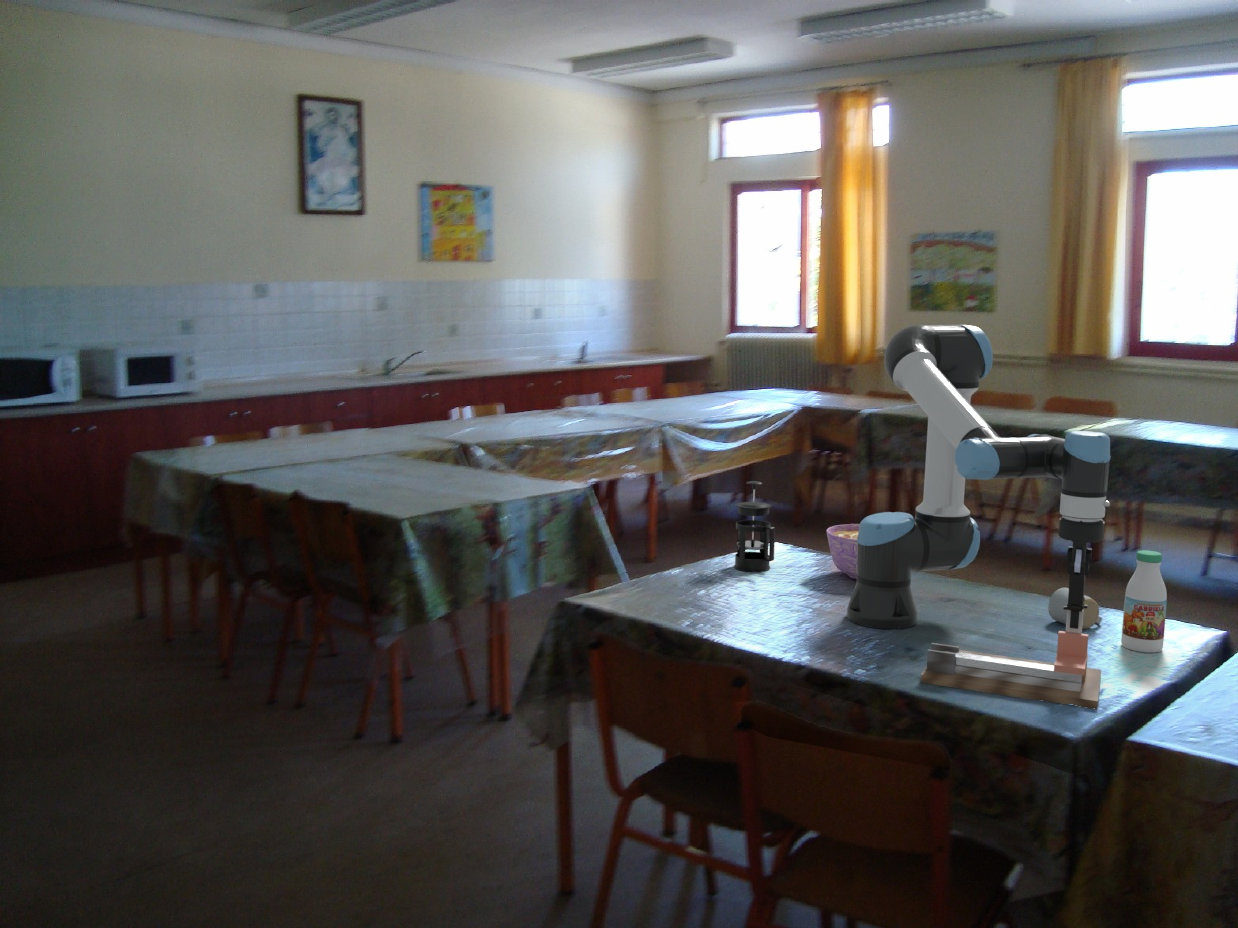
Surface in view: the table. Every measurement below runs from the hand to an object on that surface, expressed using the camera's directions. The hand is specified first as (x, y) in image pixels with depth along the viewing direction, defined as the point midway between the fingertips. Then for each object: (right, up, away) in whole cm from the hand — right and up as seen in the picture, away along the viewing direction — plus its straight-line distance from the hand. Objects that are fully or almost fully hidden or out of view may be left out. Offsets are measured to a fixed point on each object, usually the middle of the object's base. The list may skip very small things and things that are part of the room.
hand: (1072, 643), depth 199 cm
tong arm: (-12, -5, -1) cm, 13 cm away
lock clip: (-2, -4, -4) cm, 6 cm away
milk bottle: (+24, -5, +23) cm, 33 cm away
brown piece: (-10, -7, +4) cm, 13 cm away
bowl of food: (-20, +4, +78) cm, 81 cm away
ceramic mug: (+17, -2, +39) cm, 42 cm away
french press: (-48, +5, +86) cm, 98 cm away
